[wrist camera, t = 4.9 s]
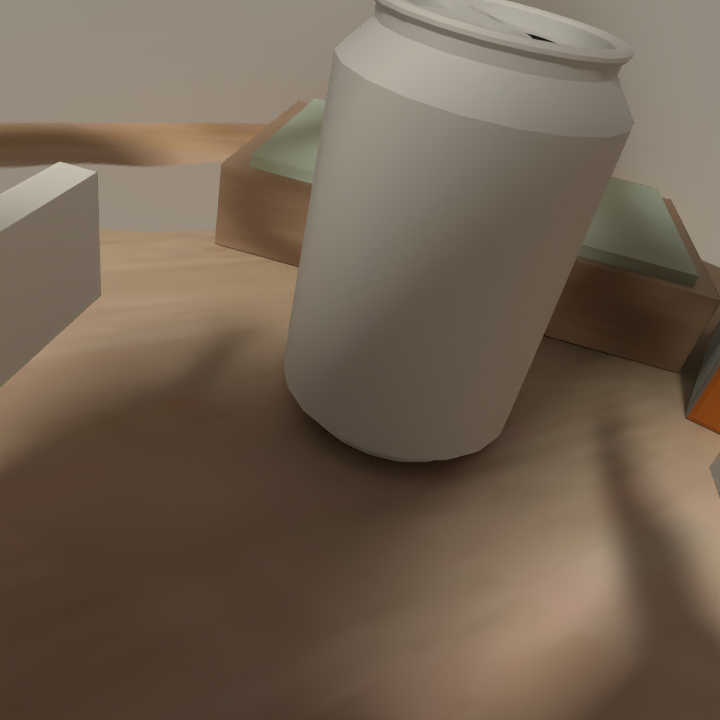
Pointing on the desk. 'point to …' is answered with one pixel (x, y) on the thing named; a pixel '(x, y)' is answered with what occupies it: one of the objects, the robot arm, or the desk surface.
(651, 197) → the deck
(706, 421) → the alarm clock
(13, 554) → the desk surface
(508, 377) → the can
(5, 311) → the robot arm
